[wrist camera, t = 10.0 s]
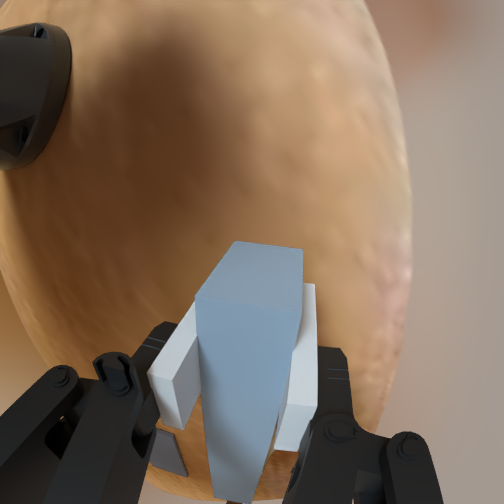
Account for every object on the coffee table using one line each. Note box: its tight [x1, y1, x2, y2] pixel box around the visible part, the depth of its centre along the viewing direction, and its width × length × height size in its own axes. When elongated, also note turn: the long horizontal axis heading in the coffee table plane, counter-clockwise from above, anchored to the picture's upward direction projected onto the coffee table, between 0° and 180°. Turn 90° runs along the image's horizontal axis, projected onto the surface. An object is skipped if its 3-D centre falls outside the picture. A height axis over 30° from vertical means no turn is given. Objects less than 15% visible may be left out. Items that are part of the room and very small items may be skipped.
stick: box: [195, 241, 303, 504], centre depth 13 cm, size 20×3×5 cm, turn 175°
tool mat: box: [150, 428, 188, 477], centre depth 33 cm, size 18×7×1 cm, turn 175°
